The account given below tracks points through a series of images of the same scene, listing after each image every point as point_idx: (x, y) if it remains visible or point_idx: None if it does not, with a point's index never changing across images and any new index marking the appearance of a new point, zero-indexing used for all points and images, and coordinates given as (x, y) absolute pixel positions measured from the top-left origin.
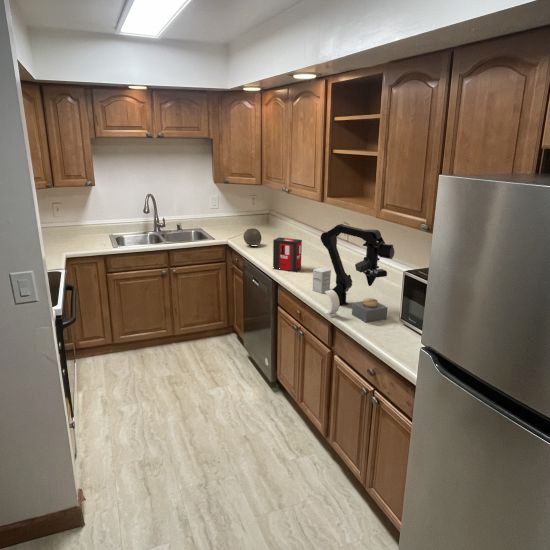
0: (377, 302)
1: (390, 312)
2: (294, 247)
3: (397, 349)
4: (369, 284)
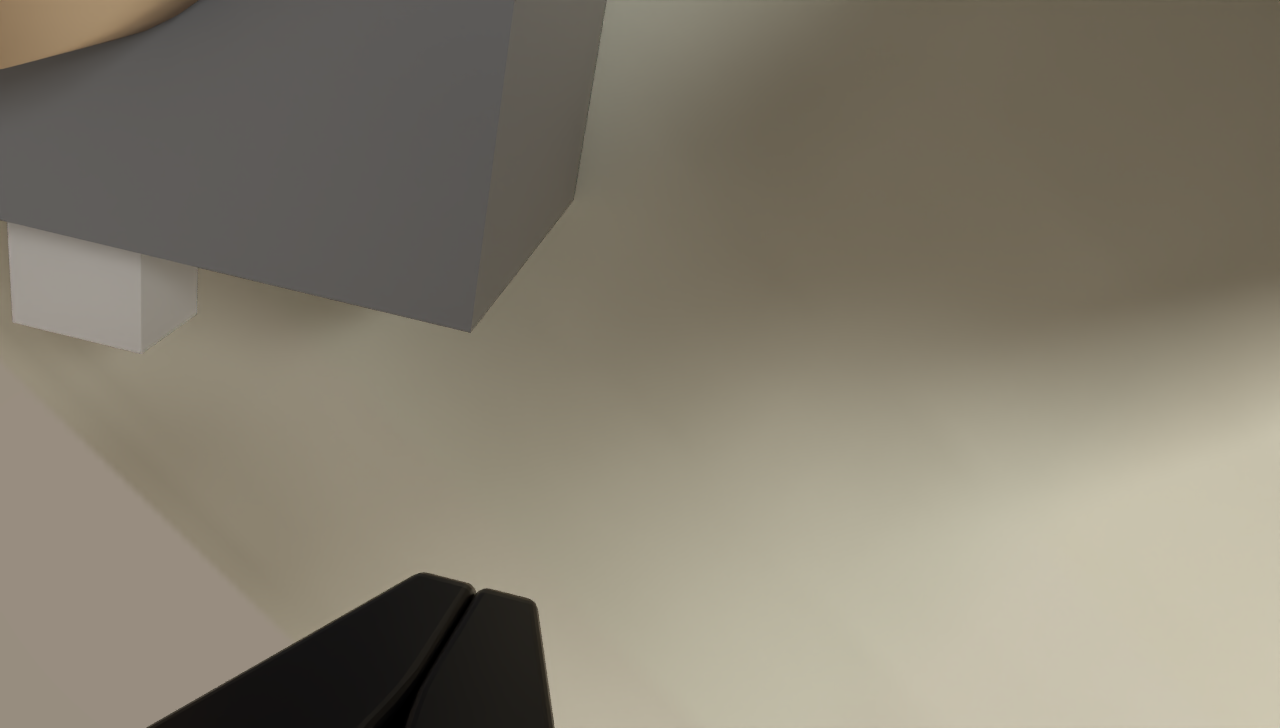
0: (143, 228)
1: (277, 493)
2: None
3: None
4: (341, 618)
